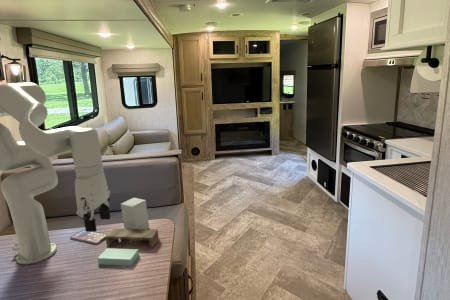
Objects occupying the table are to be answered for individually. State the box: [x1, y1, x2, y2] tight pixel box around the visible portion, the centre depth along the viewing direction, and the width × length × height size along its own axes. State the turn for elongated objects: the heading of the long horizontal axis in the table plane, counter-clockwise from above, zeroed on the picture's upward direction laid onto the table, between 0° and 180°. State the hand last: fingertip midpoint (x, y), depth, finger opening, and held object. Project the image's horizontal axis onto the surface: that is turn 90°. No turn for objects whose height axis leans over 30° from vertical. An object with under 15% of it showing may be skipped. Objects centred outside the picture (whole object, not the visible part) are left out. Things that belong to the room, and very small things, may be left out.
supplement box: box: [120, 197, 150, 229], centre depth 122 cm, size 7×7×13 cm
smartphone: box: [69, 229, 108, 245], centre depth 119 cm, size 1×7×15 cm
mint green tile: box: [97, 247, 140, 266], centre depth 103 cm, size 12×6×2 cm, turn 81°
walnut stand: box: [105, 228, 160, 249], centre depth 113 cm, size 18×6×4 cm, turn 81°
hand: (98, 224), depth 91 cm, fingers open, 7 cm apart
